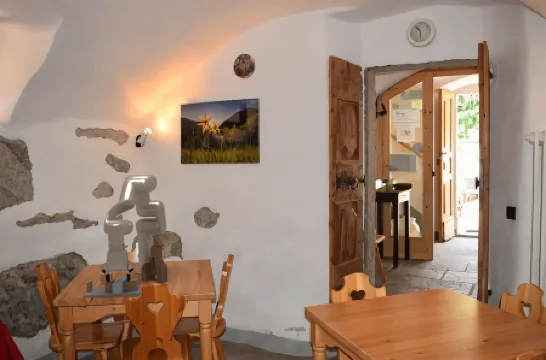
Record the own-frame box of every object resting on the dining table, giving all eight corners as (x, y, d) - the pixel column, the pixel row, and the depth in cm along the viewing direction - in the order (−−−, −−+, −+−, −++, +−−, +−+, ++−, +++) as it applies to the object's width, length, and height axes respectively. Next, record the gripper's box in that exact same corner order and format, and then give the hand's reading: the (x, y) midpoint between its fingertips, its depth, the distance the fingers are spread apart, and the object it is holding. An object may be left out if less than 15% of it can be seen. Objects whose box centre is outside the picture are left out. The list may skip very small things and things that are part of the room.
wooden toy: (141, 280, 287) (139, 235, 285) (150, 277, 292) (148, 233, 291) (160, 284, 278) (159, 237, 277) (170, 281, 284) (168, 235, 282)
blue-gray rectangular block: (119, 286, 270) (118, 277, 269) (127, 286, 270) (127, 276, 270) (112, 293, 257) (112, 283, 256) (122, 293, 257) (121, 283, 257)
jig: (92, 289, 270) (92, 277, 270) (145, 287, 272) (145, 275, 272) (83, 298, 254) (82, 285, 254) (139, 295, 256) (139, 283, 256)
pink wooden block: (102, 283, 282) (102, 272, 281) (113, 283, 282) (112, 272, 282) (100, 285, 277) (99, 274, 277) (111, 285, 278) (110, 274, 277)
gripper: (136, 245, 262) (137, 279, 263) (100, 246, 260) (102, 280, 262) (133, 248, 254) (134, 283, 256) (96, 250, 253) (98, 284, 254)
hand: (118, 281), depth 259 cm, fingers open, 9 cm apart
